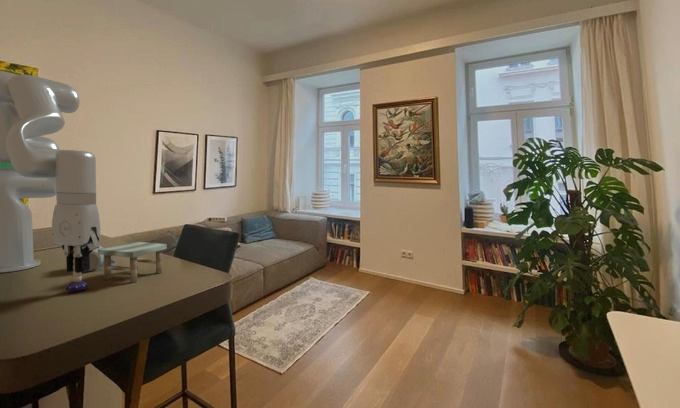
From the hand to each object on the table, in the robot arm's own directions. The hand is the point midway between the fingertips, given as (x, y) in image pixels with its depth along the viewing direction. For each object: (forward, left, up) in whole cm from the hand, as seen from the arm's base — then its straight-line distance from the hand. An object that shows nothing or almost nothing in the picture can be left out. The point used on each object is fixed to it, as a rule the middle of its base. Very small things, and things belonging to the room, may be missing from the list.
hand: (78, 270), depth 76 cm
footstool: (+3, +14, -5) cm, 15 cm away
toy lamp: (0, 0, -5) cm, 5 cm away
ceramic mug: (-16, +17, -6) cm, 23 cm away
